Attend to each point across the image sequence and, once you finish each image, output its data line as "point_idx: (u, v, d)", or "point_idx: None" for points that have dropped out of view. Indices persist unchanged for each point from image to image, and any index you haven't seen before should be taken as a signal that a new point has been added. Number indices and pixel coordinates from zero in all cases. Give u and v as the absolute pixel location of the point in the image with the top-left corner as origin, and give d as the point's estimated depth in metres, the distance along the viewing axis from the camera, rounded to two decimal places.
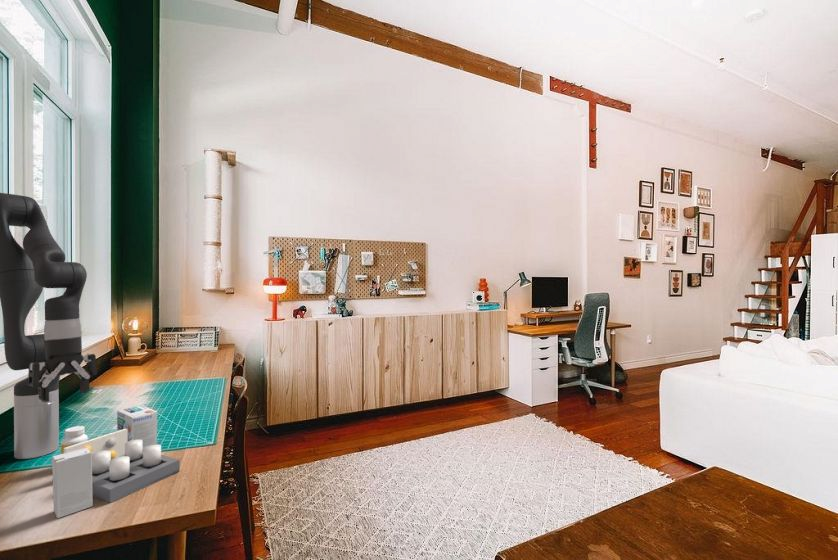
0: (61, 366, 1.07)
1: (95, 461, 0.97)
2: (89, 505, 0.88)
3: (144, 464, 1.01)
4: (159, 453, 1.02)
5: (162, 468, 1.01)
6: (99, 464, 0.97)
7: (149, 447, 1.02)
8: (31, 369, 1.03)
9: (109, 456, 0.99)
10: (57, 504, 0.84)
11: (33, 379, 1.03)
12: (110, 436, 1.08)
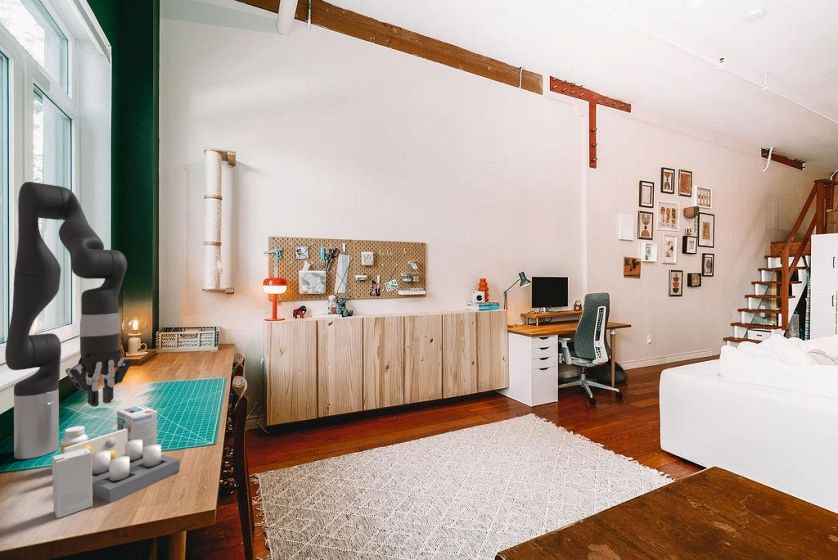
0: (99, 365, 0.97)
1: (95, 461, 0.97)
2: (89, 505, 0.88)
3: (144, 464, 1.01)
4: (159, 453, 1.02)
5: (162, 468, 1.01)
6: (99, 464, 0.97)
7: (149, 447, 1.02)
8: (71, 376, 0.93)
9: (109, 456, 0.99)
10: (57, 504, 0.84)
11: (80, 384, 0.94)
12: (110, 436, 1.08)
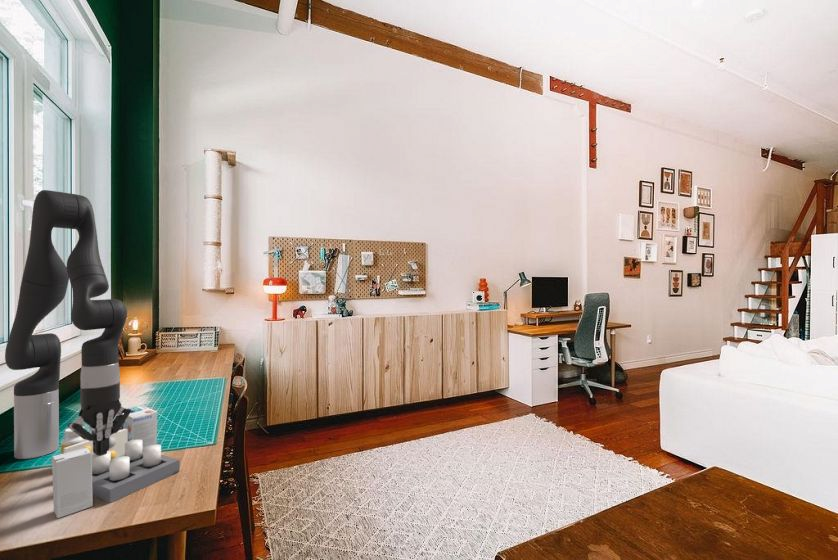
0: (100, 416, 0.97)
1: (95, 461, 0.97)
2: (89, 505, 0.88)
3: (144, 464, 1.01)
4: (159, 453, 1.02)
5: (162, 468, 1.01)
6: (99, 464, 0.97)
7: (149, 447, 1.02)
8: (74, 430, 0.94)
9: (109, 456, 0.99)
10: (57, 504, 0.84)
11: (85, 436, 0.95)
12: (110, 436, 1.08)
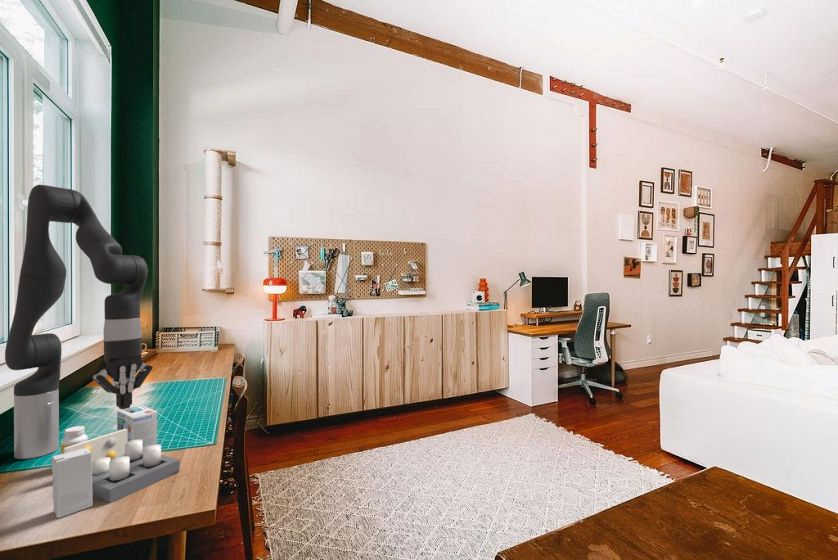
0: (123, 369, 0.98)
1: (96, 468, 0.97)
2: (89, 505, 0.88)
3: (144, 464, 1.01)
4: (159, 453, 1.02)
5: (162, 468, 1.01)
6: (99, 471, 0.97)
7: (149, 447, 1.02)
8: (98, 382, 0.95)
9: None
10: (57, 504, 0.84)
11: (109, 389, 0.96)
12: (110, 436, 1.08)
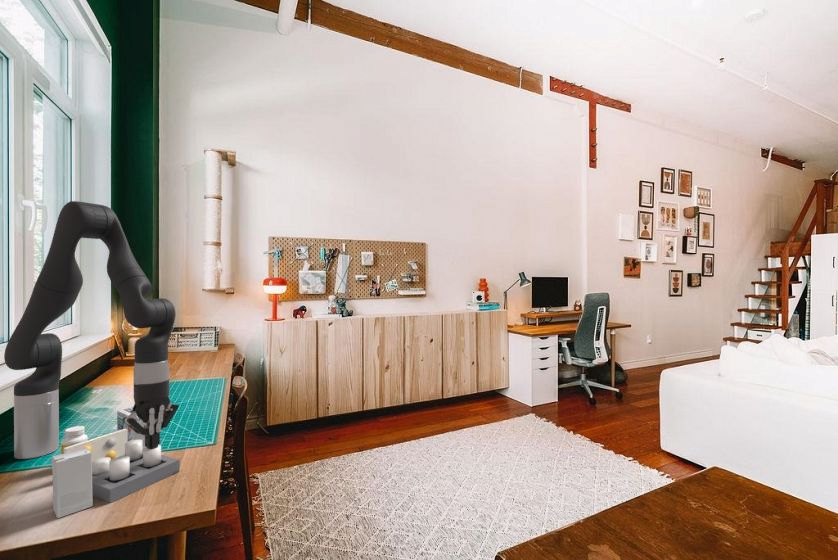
0: (152, 411, 1.00)
1: (96, 468, 0.97)
2: (89, 505, 0.88)
3: (144, 464, 1.01)
4: (159, 453, 1.02)
5: (162, 468, 1.01)
6: (99, 471, 0.97)
7: None
8: (129, 424, 0.97)
9: None
10: (57, 504, 0.84)
11: (139, 431, 0.98)
12: (110, 436, 1.08)
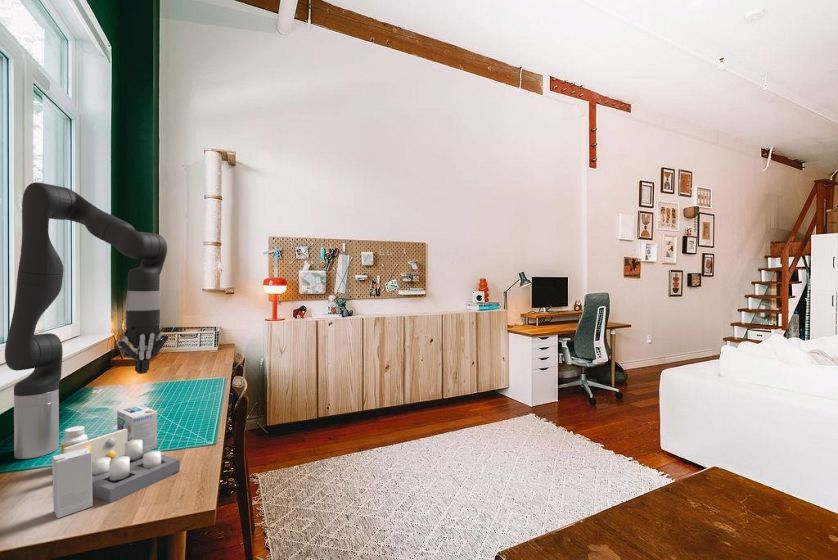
0: (142, 337, 1.07)
1: (96, 468, 0.97)
2: (89, 505, 0.88)
3: None
4: (159, 459, 1.02)
5: (162, 468, 1.01)
6: (99, 471, 0.97)
7: (149, 453, 1.03)
8: (120, 347, 1.04)
9: None
10: (57, 504, 0.84)
11: (129, 354, 1.05)
12: (110, 436, 1.08)
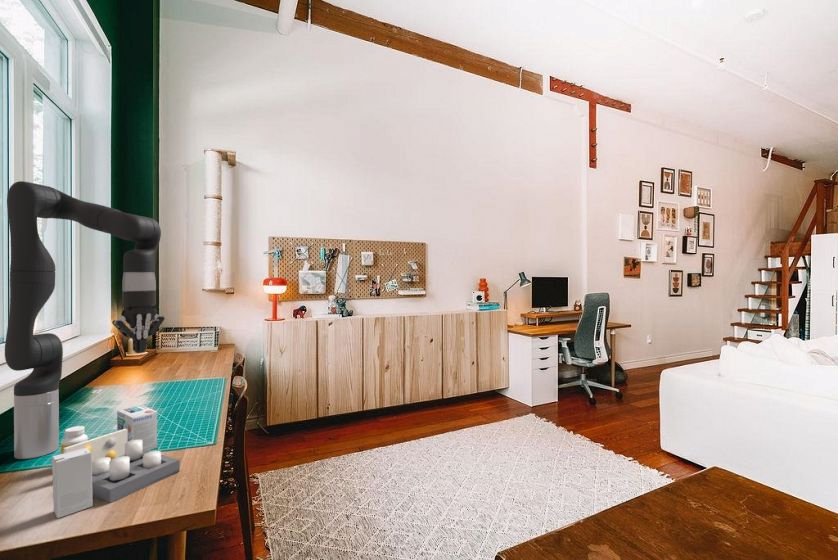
0: (139, 317, 1.10)
1: (96, 468, 0.97)
2: (89, 505, 0.88)
3: None
4: (159, 459, 1.02)
5: (162, 468, 1.01)
6: (99, 471, 0.97)
7: (149, 453, 1.03)
8: (118, 327, 1.07)
9: None
10: (57, 504, 0.84)
11: (127, 333, 1.08)
12: (110, 436, 1.08)
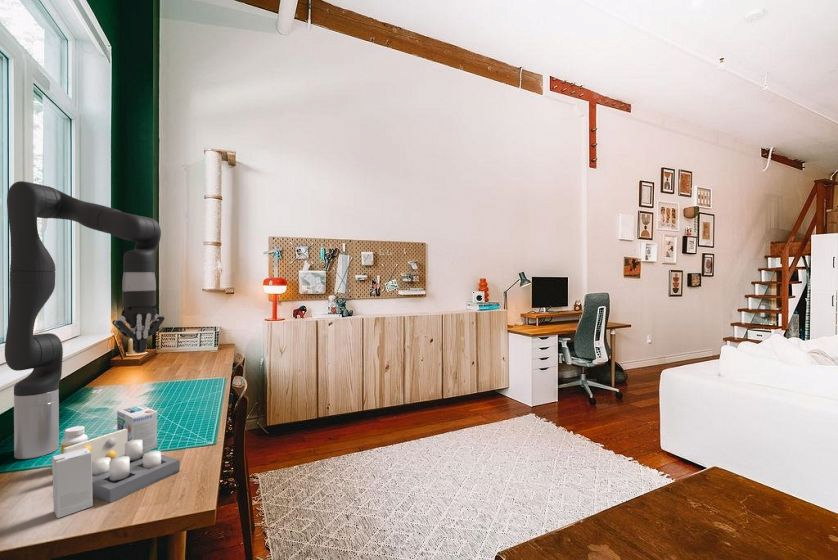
0: (139, 317, 1.10)
1: (96, 468, 0.97)
2: (89, 505, 0.88)
3: None
4: (159, 459, 1.02)
5: (162, 468, 1.01)
6: (99, 471, 0.97)
7: (149, 453, 1.03)
8: (118, 327, 1.07)
9: None
10: (57, 504, 0.84)
11: (127, 333, 1.08)
12: (110, 436, 1.08)
